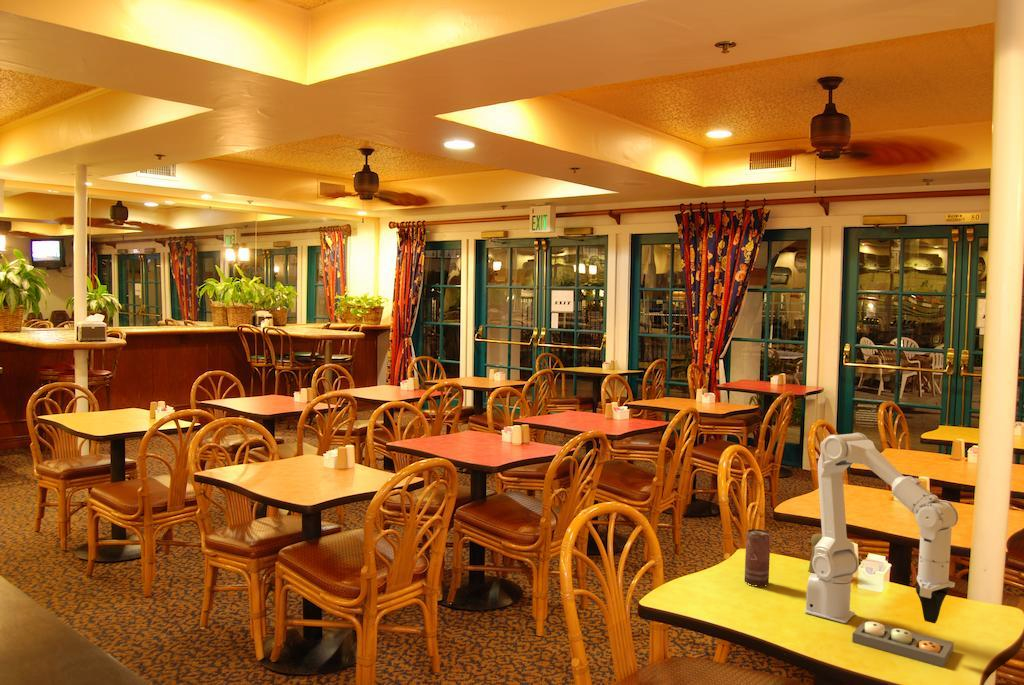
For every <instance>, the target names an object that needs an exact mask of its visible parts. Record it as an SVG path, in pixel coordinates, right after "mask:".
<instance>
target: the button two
mask: <svg viewBox="0 0 1024 685" xmlns="http://www.w3.org/2000/svg"><path fill="white" fill-rule="evenodd" d="M909 631H910V630H908V631H907V629H904V628H900V629H892V633H891V640H892V641H895V642H899V643H903V644H906V645H911V644H912V633H911V632H909Z"/></svg>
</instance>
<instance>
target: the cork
mask: <svg viewBox="0 0 1024 685" xmlns="http://www.w3.org/2000/svg"><path fill="white" fill-rule="evenodd" d="M821 538H822V533H813V535H812V536H811V538H810V540H811V545H812V549H811V555H810V560H809V566H808V569H807V571H808V572H810V573H815V572H814V569H813V565H812V561H813V557H814V554H815V546H816V544H817V543H818V542H819V541H820V540H821ZM815 574H816V573H815Z"/></svg>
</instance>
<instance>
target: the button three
mask: <svg viewBox="0 0 1024 685" xmlns="http://www.w3.org/2000/svg"><path fill="white" fill-rule="evenodd" d="M919 648H921V649H925V650H929V651H932V652H936V653H940V645H938V644H936V643H934V642H930V641H920V642H919Z"/></svg>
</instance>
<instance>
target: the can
mask: <svg viewBox="0 0 1024 685" xmlns="http://www.w3.org/2000/svg"><path fill="white" fill-rule="evenodd" d="M771 542H772V541H771V535H770V532H769V531H767V530H764V529H757V528H754V529H753V528H752V529H748V530H747V532H746V534H745V554H744V555H745V557H744V558H745V559H744V560H745V561H744V582H745V583H746V582H747V583H749V584H751V585H757V586H765V585H767V586H768V585H769V580H770V578H769V577H770V560H771V559H770V556H771ZM765 587H766V586H765Z"/></svg>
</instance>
